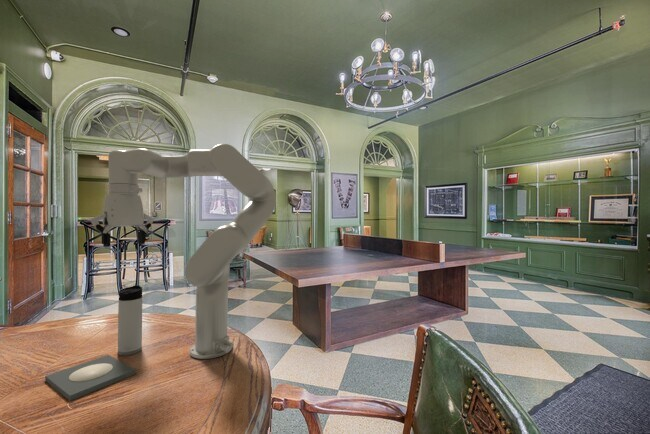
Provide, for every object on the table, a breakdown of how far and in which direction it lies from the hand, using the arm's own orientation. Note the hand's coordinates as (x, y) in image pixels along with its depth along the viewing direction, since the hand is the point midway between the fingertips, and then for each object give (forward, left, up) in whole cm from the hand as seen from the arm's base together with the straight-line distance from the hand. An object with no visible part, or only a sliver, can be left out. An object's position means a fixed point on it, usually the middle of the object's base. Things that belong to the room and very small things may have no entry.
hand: (124, 245), depth 92 cm
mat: (-9, +12, -33) cm, 37 cm away
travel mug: (-1, -1, -34) cm, 34 cm away
